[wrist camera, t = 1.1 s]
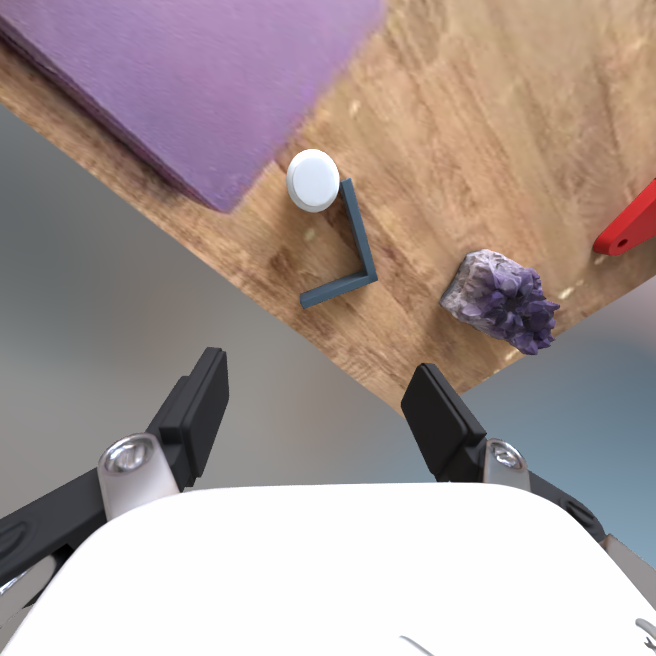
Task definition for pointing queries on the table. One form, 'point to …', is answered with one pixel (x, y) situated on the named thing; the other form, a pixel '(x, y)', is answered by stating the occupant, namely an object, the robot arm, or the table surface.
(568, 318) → the table surface
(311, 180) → the pill bottle
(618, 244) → the lever
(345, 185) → the corner
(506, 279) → the geode
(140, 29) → the table surface
